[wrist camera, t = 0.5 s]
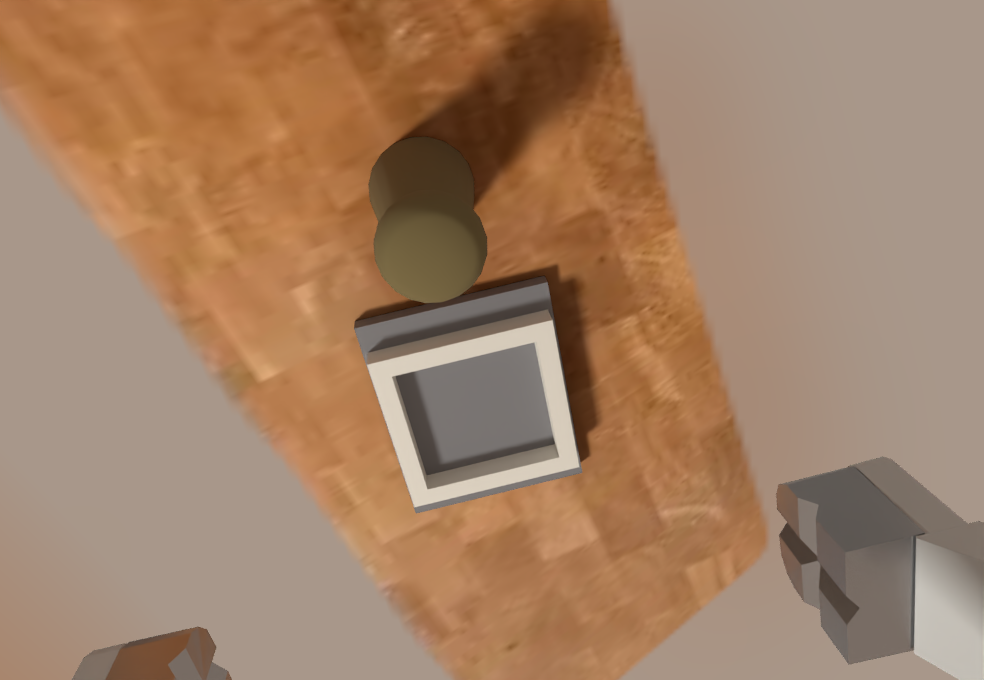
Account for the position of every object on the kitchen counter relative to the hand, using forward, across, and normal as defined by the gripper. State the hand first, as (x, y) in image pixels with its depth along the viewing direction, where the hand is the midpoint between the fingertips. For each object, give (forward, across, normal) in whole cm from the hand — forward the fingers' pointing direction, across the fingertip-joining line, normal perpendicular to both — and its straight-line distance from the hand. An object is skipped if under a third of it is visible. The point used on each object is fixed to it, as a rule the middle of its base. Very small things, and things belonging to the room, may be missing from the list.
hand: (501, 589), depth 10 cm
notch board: (+36, +1, +15) cm, 39 cm away
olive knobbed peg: (+34, +1, 0) cm, 34 cm away
